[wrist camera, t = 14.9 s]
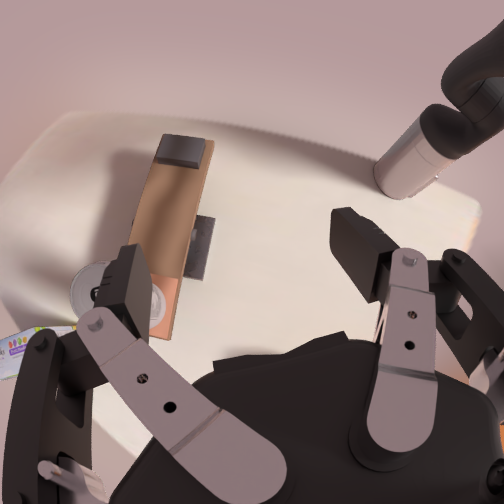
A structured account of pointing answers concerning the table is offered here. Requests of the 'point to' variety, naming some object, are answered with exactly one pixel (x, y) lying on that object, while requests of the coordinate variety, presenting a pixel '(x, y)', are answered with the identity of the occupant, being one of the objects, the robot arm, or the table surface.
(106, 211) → the table surface
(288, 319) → the table surface
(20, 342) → the snack box
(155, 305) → the energy drink can
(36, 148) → the table surface
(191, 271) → the seesaw stand
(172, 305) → the seesaw beam
